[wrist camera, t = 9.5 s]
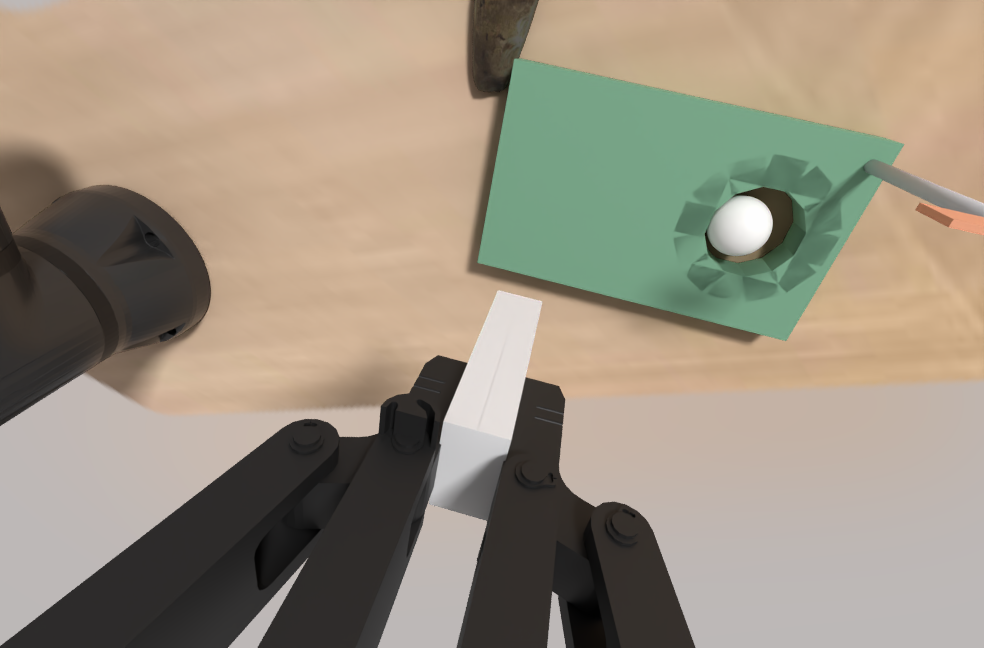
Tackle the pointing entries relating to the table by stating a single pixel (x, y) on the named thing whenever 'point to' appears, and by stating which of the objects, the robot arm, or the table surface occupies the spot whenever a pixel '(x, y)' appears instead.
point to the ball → (740, 226)
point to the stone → (499, 40)
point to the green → (679, 195)
